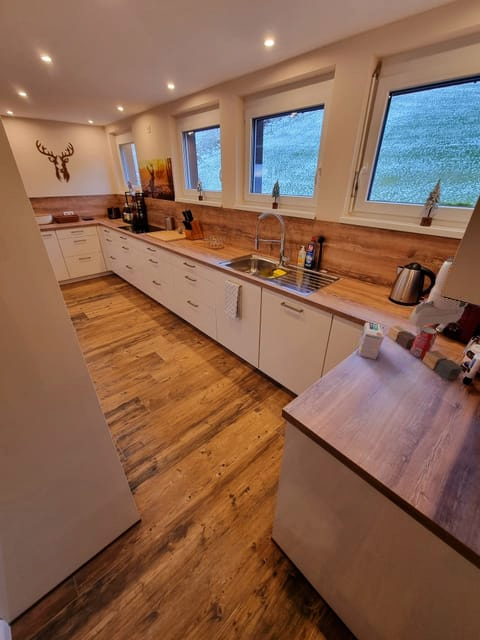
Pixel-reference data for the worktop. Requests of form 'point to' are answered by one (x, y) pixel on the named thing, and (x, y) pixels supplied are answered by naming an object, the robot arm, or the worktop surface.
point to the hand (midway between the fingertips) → (428, 332)
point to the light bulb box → (371, 340)
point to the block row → (427, 354)
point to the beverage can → (423, 342)
